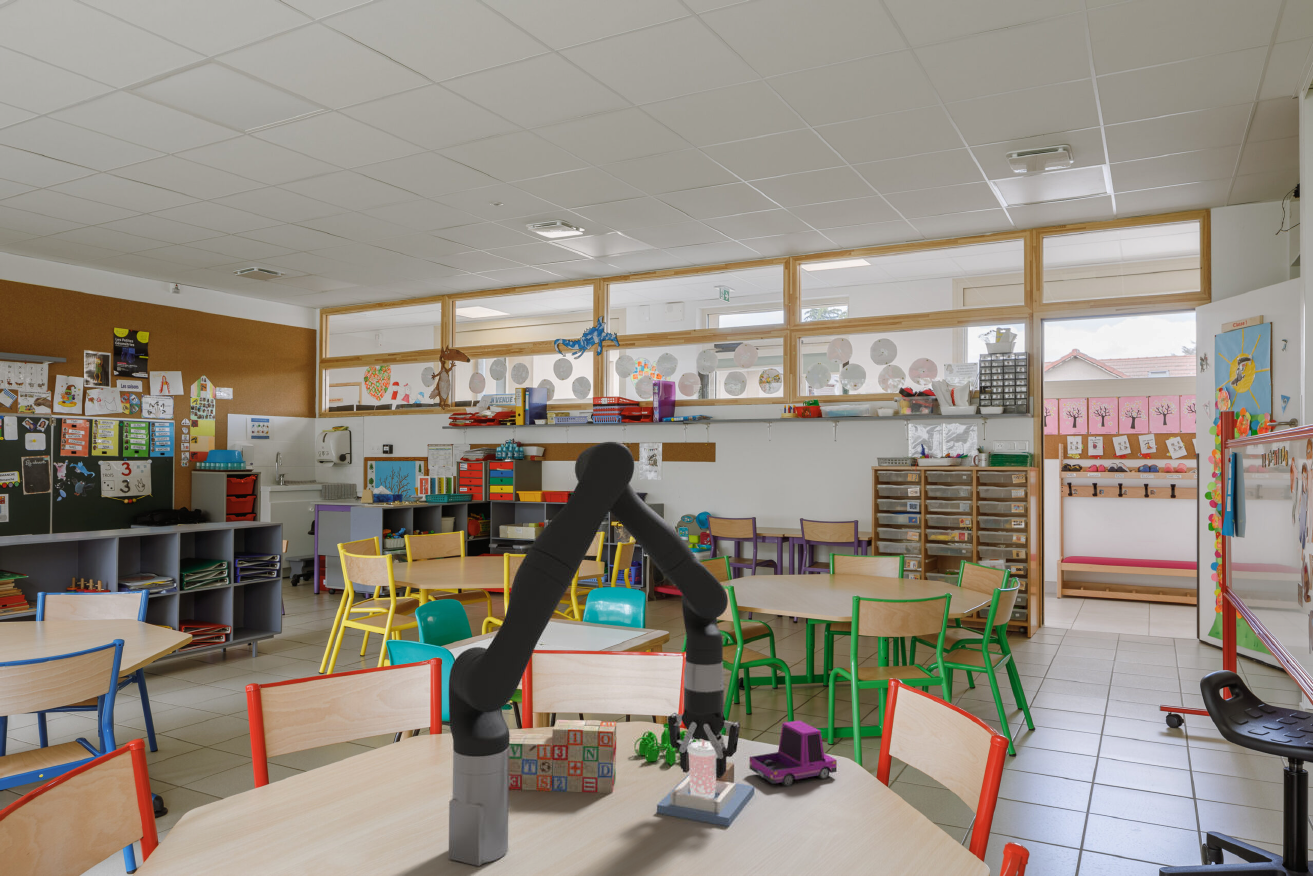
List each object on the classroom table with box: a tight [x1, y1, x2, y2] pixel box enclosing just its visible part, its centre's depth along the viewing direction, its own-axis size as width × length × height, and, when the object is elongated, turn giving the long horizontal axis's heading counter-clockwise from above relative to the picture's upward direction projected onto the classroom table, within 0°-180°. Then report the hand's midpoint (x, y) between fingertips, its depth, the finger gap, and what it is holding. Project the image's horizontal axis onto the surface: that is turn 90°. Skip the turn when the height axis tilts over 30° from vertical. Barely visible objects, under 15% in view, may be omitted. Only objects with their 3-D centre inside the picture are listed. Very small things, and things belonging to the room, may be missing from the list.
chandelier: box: [634, 722, 702, 766], centre depth 186 cm, size 15×15×7 cm
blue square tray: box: [656, 761, 755, 827], centre depth 160 cm, size 16×14×6 cm
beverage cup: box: [687, 739, 718, 798], centre depth 158 cm, size 6×6×14 cm
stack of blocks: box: [509, 719, 617, 794], centre depth 168 cm, size 21×6×12 cm, turn 87°
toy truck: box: [748, 719, 837, 787], centre depth 174 cm, size 11×16×10 cm
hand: (703, 773), depth 158 cm, fingers closed on beverage cup, 6 cm apart
